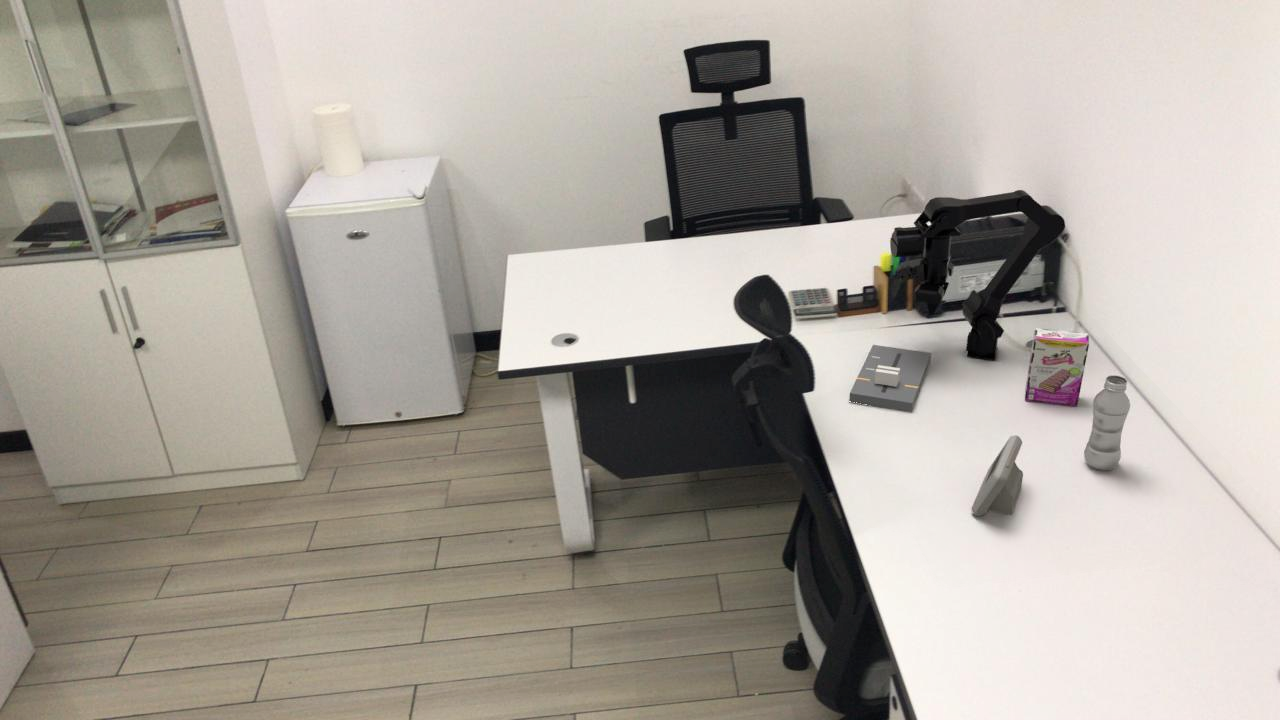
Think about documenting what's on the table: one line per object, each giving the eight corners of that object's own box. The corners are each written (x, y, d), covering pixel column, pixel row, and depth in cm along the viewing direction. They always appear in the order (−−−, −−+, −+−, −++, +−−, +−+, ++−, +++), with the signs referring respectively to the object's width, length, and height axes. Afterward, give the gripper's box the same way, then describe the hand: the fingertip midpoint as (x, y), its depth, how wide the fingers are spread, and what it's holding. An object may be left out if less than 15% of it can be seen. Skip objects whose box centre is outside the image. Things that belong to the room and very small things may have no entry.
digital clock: (991, 470, 203) (997, 426, 197) (1035, 486, 197) (1042, 441, 192) (955, 510, 192) (960, 465, 187) (1000, 528, 187) (1007, 482, 182)
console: (930, 361, 242) (931, 352, 240) (911, 412, 223) (912, 402, 222) (872, 353, 247) (873, 344, 246) (849, 402, 228) (849, 392, 227)
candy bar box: (1024, 402, 224) (1033, 337, 216) (1024, 390, 228) (1033, 327, 220) (1078, 408, 220) (1089, 342, 212) (1077, 396, 224) (1088, 331, 216)
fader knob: (899, 380, 230) (900, 367, 228) (896, 386, 227) (897, 374, 226) (877, 377, 232) (878, 364, 230) (874, 383, 229) (875, 370, 228)
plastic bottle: (1121, 475, 198) (1139, 389, 189) (1085, 473, 200) (1101, 387, 190) (1114, 456, 204) (1131, 372, 194) (1079, 454, 205) (1094, 370, 195)
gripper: (908, 234, 241) (904, 293, 248) (893, 265, 226) (889, 326, 234) (956, 239, 236) (951, 298, 244) (943, 270, 222) (938, 333, 229)
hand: (931, 313), depth 238 cm, fingers closed
